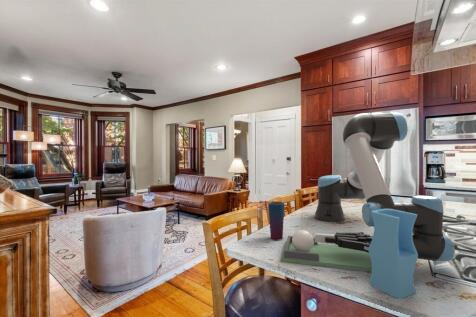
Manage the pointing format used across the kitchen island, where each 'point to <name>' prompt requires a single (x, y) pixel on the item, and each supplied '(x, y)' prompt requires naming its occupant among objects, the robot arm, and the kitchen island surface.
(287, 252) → the grey u-shaped wall
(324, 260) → the mat
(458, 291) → the kitchen island surface
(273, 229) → the cup
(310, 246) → the ball
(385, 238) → the vase
